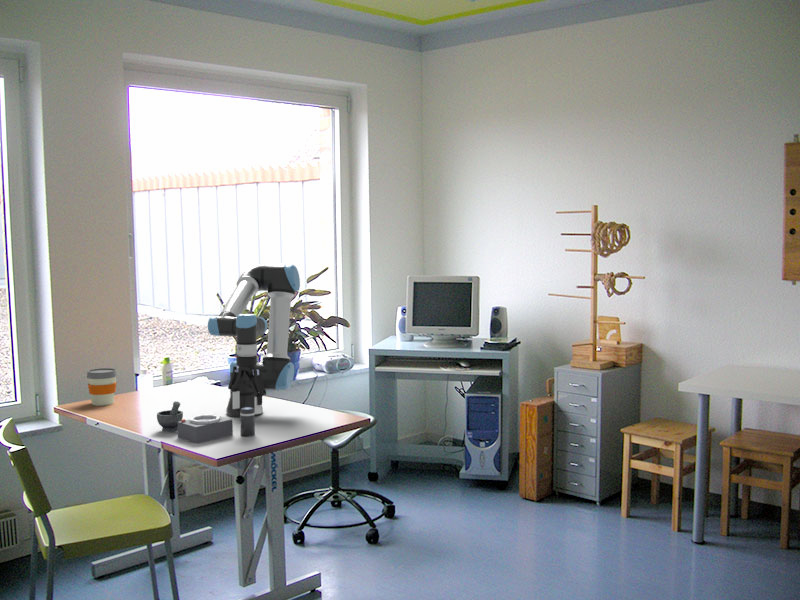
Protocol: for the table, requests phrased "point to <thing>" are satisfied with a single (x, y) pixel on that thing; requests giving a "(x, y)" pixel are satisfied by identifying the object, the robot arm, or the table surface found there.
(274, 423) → the table surface
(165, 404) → the table surface
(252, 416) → the lens
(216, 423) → the dark grey box
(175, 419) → the mortar and pestle
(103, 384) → the reusable coffee cup
